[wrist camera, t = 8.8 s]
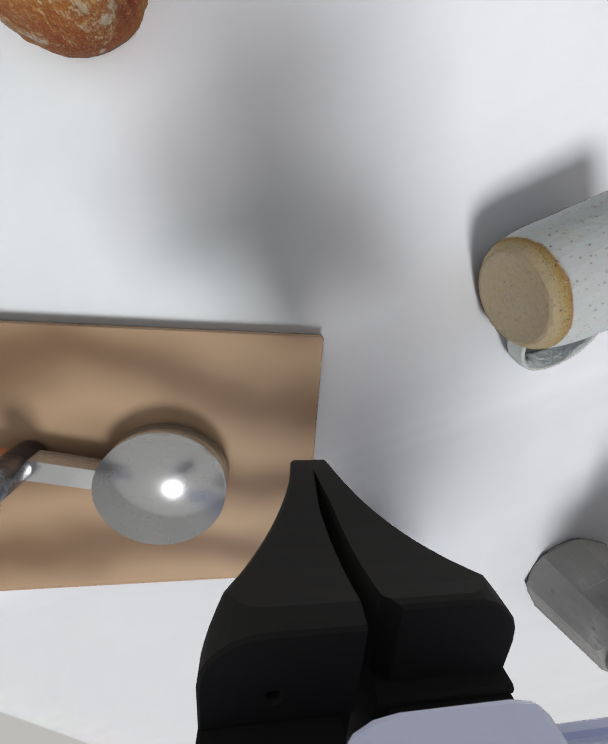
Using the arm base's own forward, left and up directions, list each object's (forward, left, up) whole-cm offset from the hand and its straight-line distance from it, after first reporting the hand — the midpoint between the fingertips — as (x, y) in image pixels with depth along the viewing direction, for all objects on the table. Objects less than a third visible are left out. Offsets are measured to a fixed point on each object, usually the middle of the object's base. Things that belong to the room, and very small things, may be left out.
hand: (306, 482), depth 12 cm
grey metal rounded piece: (-5, +11, -9) cm, 15 cm away
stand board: (-6, +10, -10) cm, 15 cm away
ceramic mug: (+8, -17, -11) cm, 21 cm away
